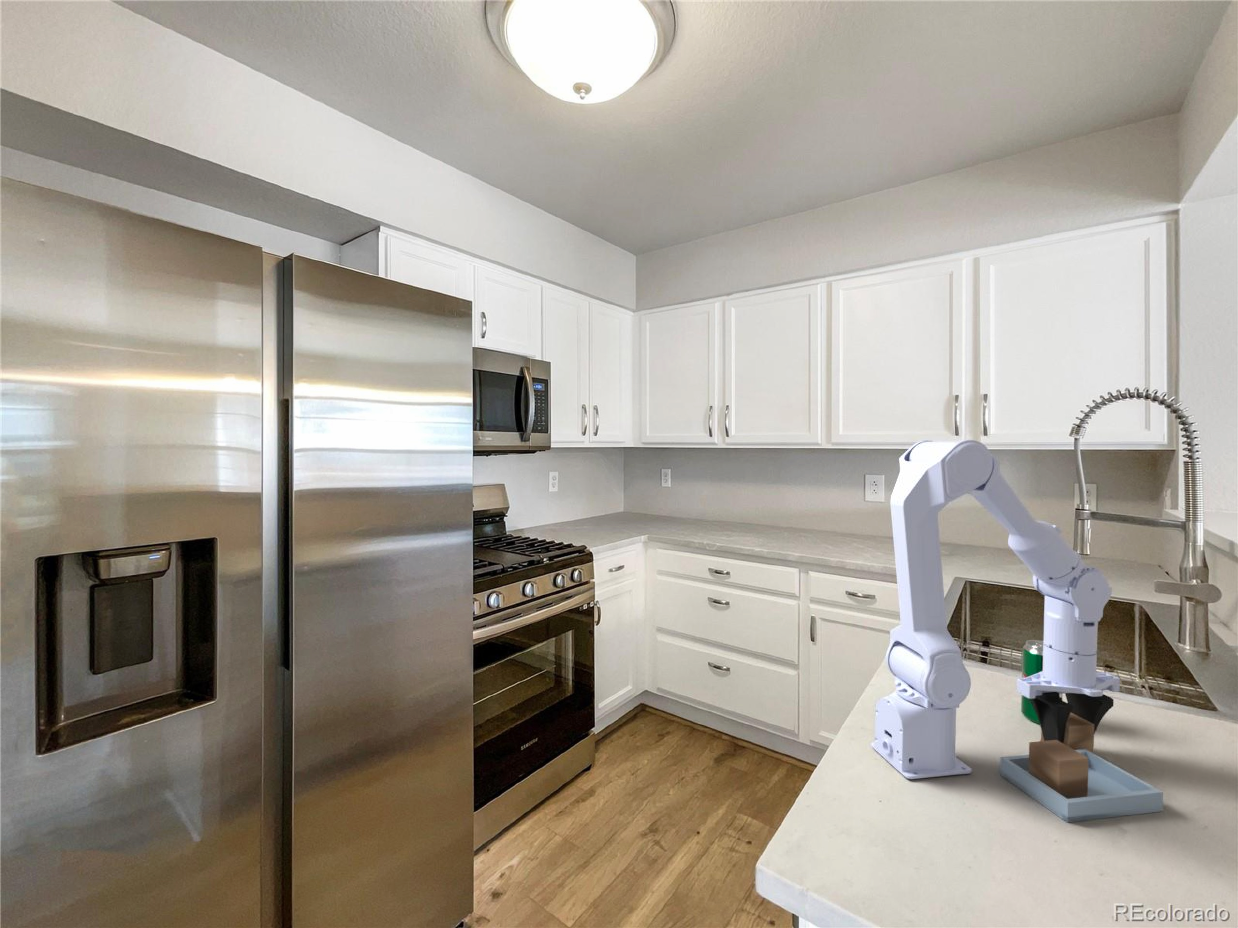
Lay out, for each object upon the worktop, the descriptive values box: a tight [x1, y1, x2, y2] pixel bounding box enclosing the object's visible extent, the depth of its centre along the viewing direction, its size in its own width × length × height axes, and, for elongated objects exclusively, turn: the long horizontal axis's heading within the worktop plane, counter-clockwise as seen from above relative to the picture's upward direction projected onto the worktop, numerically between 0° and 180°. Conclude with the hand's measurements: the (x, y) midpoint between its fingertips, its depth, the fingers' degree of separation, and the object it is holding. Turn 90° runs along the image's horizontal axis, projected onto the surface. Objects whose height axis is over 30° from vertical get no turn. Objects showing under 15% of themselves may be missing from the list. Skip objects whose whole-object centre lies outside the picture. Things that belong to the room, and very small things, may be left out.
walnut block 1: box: [1040, 713, 1095, 754], centre depth 75 cm, size 4×4×5 cm
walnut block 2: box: [1028, 740, 1089, 799], centre depth 66 cm, size 4×4×5 cm
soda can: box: [1020, 639, 1064, 725], centre depth 84 cm, size 5×5×12 cm
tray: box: [999, 749, 1164, 823], centre depth 66 cm, size 13×9×2 cm
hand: (1066, 742), depth 75 cm, fingers closed on walnut block 1, 4 cm apart
